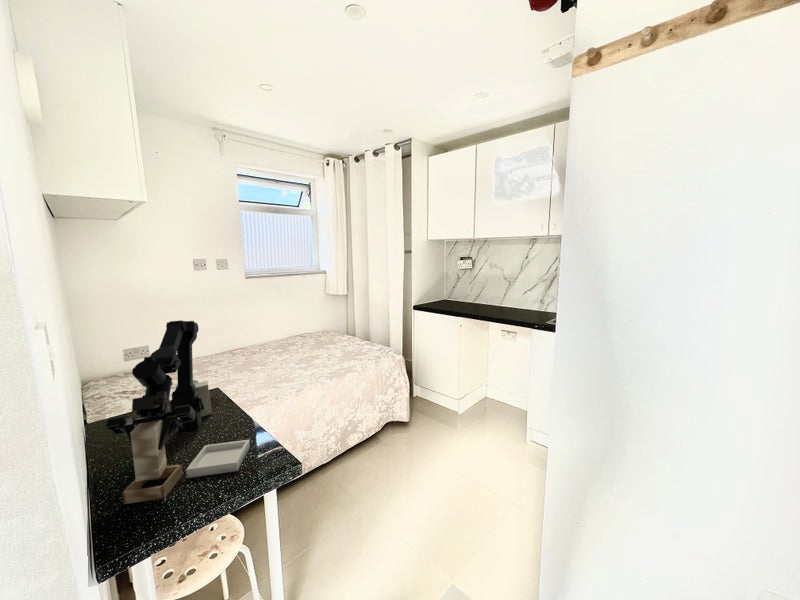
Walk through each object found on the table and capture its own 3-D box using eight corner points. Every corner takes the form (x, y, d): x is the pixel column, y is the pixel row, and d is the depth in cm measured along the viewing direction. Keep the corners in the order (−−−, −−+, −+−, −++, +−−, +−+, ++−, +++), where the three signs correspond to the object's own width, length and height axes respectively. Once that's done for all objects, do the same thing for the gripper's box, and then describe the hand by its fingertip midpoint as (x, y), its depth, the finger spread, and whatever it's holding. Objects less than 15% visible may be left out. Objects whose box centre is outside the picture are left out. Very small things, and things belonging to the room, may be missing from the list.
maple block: (166, 465, 86) (162, 420, 84) (159, 477, 81) (154, 429, 80) (144, 469, 84) (139, 423, 83) (136, 481, 79) (130, 432, 78)
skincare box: (212, 414, 125) (208, 384, 124) (198, 417, 123) (195, 387, 121) (211, 408, 130) (207, 380, 129) (198, 411, 128) (194, 383, 127)
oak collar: (183, 474, 88) (181, 464, 88) (164, 497, 79) (163, 486, 79) (146, 479, 87) (144, 469, 86) (123, 504, 78) (121, 493, 77)
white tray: (250, 446, 101) (249, 439, 100) (237, 470, 89) (236, 462, 89) (205, 452, 98) (204, 445, 98) (187, 478, 87) (186, 469, 86)
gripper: (102, 388, 80) (83, 452, 71) (187, 376, 87) (180, 433, 78) (121, 405, 89) (107, 464, 80) (198, 393, 95) (192, 447, 86)
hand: (147, 452), depth 80 cm, fingers closed on maple block, 5 cm apart
